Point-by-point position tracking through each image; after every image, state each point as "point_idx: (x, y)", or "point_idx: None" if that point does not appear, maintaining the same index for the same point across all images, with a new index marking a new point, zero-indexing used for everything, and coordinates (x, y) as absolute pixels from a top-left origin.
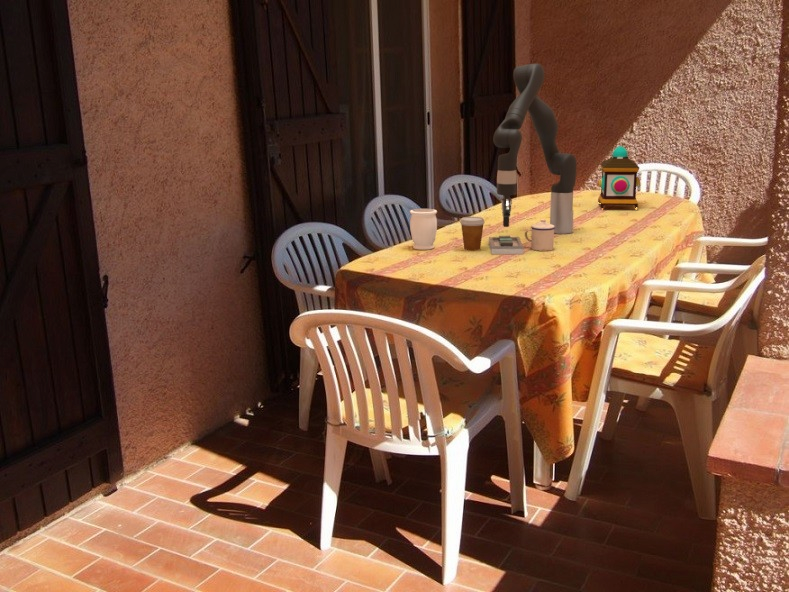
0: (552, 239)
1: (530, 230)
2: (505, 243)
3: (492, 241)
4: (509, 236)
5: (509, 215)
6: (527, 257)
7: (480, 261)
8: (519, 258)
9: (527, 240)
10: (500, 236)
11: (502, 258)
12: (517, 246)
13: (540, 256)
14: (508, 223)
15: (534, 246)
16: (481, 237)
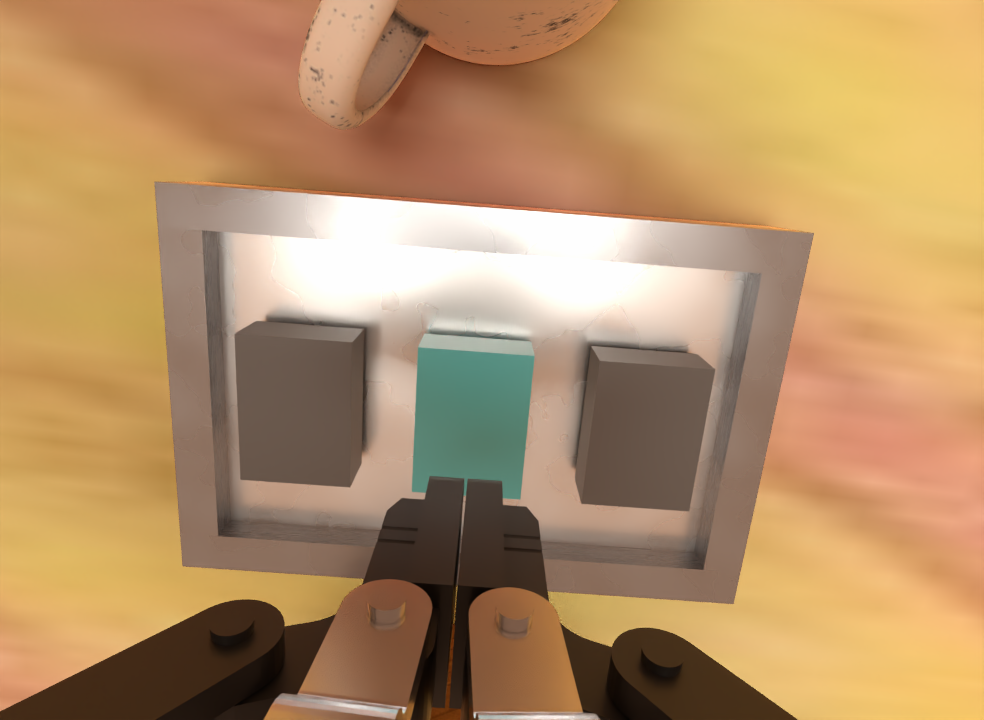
0: None
1: (389, 10)
2: (695, 457)
3: None
4: (290, 350)
5: (704, 670)
6: (950, 207)
7: (980, 676)
8: (972, 307)
9: (390, 93)
10: (287, 466)
11: (917, 477)
12: (795, 313)
13: (945, 29)
14: (500, 516)
15: (588, 28)
16: (445, 711)
